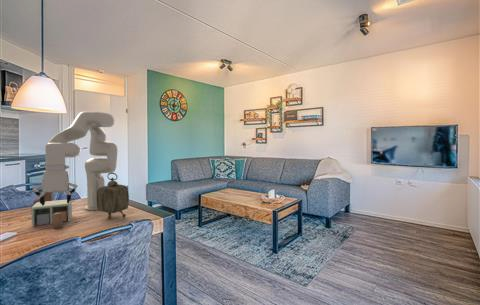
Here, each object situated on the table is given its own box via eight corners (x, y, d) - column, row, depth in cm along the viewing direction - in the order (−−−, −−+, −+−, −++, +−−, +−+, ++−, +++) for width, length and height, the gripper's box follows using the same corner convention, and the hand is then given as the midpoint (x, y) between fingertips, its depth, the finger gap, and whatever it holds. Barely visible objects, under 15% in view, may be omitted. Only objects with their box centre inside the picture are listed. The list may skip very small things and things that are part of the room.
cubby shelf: (71, 215, 136) (71, 199, 136) (69, 221, 126) (69, 203, 125) (37, 219, 128) (36, 202, 128) (32, 226, 118) (31, 207, 118)
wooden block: (33, 207, 152) (32, 179, 151) (35, 206, 156) (34, 178, 155) (51, 206, 156) (50, 178, 156) (52, 204, 160) (51, 177, 160)
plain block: (51, 220, 127) (50, 211, 127) (49, 223, 123) (49, 213, 123) (39, 222, 125) (38, 212, 125) (36, 225, 121) (36, 215, 120)
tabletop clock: (129, 216, 134) (128, 172, 133) (116, 221, 126) (115, 174, 125) (109, 214, 139) (108, 171, 138) (95, 218, 130) (94, 173, 129)
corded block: (67, 218, 131) (67, 205, 131) (63, 227, 116) (63, 213, 116) (56, 219, 128) (55, 207, 128) (50, 229, 114) (50, 215, 113)
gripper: (77, 167, 123) (78, 200, 123) (34, 168, 114) (34, 204, 114) (76, 168, 116) (77, 203, 116) (30, 169, 107) (30, 207, 108)
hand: (56, 203), depth 115 cm, fingers open, 9 cm apart
